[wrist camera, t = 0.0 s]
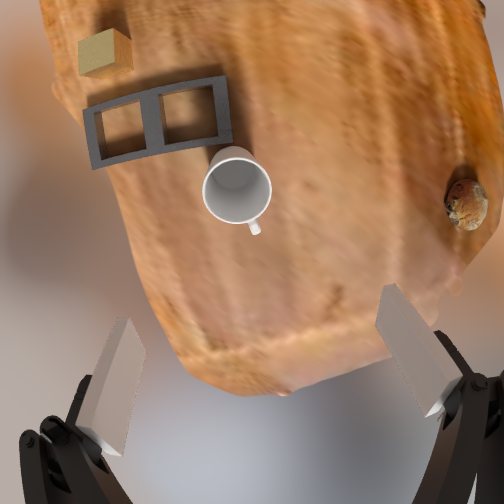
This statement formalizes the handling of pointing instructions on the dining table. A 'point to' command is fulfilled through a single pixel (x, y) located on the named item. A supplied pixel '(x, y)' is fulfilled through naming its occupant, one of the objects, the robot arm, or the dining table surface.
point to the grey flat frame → (156, 121)
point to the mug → (236, 187)
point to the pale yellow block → (105, 55)
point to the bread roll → (467, 204)
